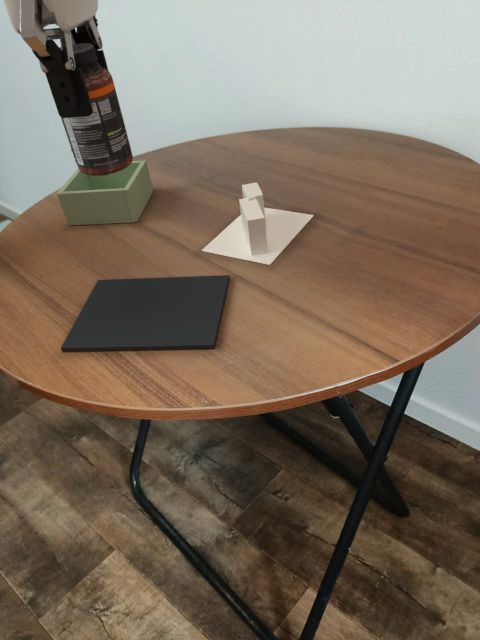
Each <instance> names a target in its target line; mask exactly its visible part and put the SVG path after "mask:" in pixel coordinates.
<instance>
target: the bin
mask: <svg viewBox="0 0 480 640" xmlns="http://www.w3.org/2000/svg"><path fill="white" fill-rule="evenodd" d="M153 193H154V187H153V183H152V179H151V175H150V171H149V166H148V162H147V160H132V163H131V164H130V165H129V166H128V167H127V168H125V169H123V170H121V171H119V172H116V173H113V174H110V175H104V176H90V175H86V174H84V173H82V172H80V171H79V169H78V168H77V169H76V170H75V171H74V172H73V174H72V175H71V176H70V177H69V178H68V180H67V181H66V182H65V183H64V184H63V186H61V188H60V189H59V190H58V192H57V193H56V196H57V198H58V201H59V204H60V207H61V209H62V212H63V215H64V217H65V220H66V223H67V225H68V227H69V226H86V225H89V226H90V225H107V224H108V225H109V224H128V223H137V222H138V221H139V219H140V217H141V216H142V213H143V212H144V210H145V208H146V206H147V204H148V202H149V200H150V198H151V197H152V195H153Z"/></svg>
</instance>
